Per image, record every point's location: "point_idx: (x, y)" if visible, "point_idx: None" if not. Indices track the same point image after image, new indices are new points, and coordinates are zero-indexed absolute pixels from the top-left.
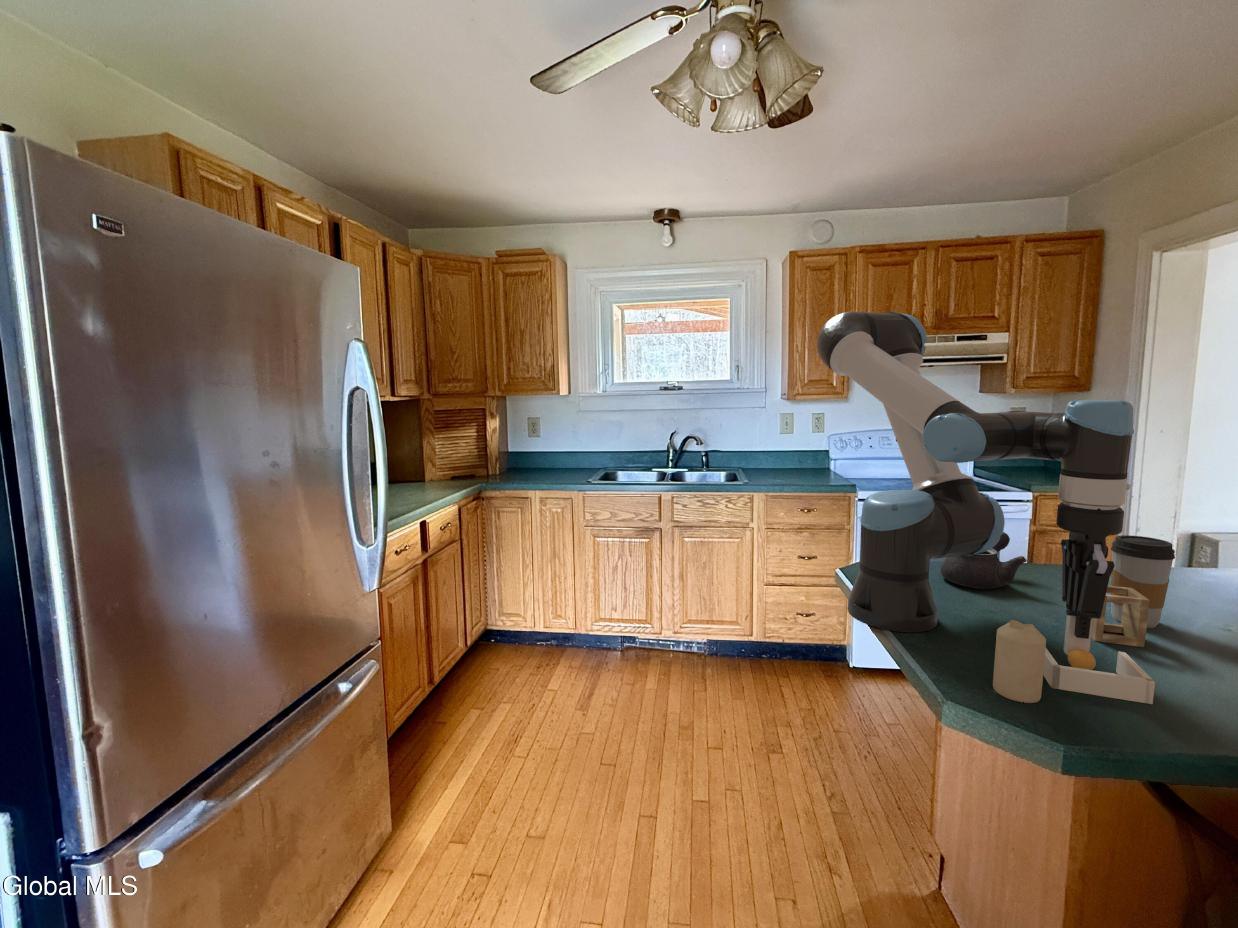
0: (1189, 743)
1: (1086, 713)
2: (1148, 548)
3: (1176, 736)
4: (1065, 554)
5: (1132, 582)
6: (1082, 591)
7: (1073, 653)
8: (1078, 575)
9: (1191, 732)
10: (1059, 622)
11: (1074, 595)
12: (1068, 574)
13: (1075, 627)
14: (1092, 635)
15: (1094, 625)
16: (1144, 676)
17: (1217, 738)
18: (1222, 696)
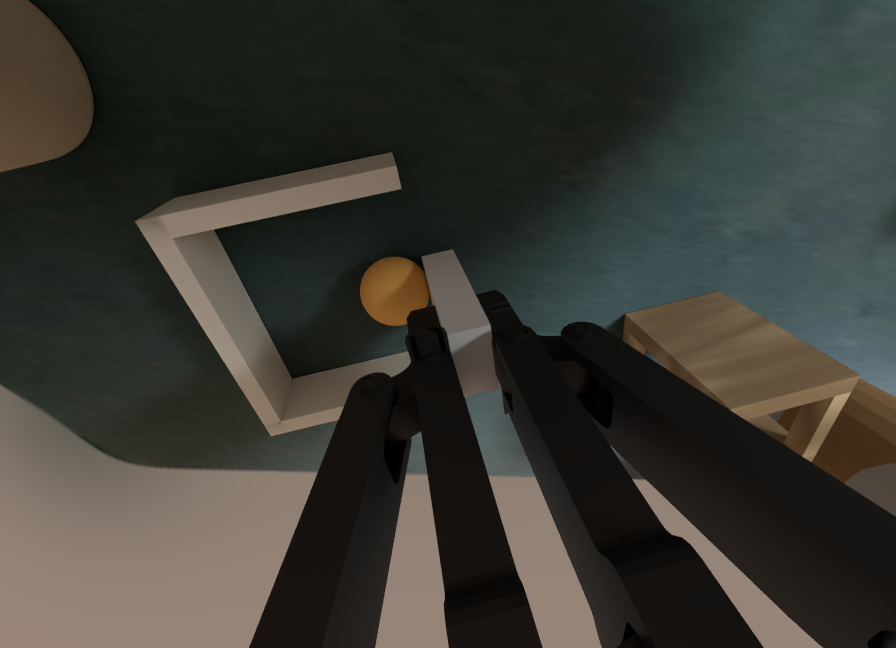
0: (126, 431)
1: (69, 276)
2: None
3: (139, 417)
4: (880, 582)
5: (856, 465)
6: (335, 508)
7: (382, 280)
8: (447, 577)
9: (191, 434)
10: (743, 242)
11: (452, 416)
12: (677, 445)
13: (434, 323)
14: (646, 313)
15: (661, 333)
16: (290, 421)
17: (204, 460)
18: (421, 469)
